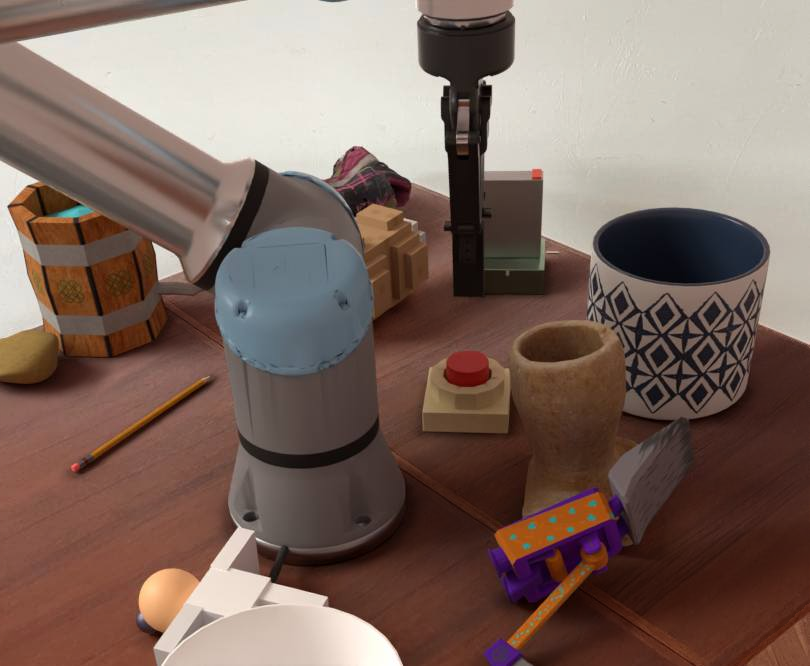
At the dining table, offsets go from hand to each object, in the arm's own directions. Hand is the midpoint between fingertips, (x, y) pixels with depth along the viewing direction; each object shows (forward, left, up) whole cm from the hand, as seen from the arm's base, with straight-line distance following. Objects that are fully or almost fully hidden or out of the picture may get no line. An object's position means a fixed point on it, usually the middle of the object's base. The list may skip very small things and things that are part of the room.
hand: (468, 292), depth 101 cm
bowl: (-46, +9, -12) cm, 48 cm away
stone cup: (-14, -10, -12) cm, 21 cm away
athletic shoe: (+38, +22, -8) cm, 45 cm away
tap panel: (+27, -3, -12) cm, 30 cm away
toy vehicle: (-22, -9, -6) cm, 24 cm away
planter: (+6, -19, -13) cm, 23 cm away
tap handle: (+27, -3, -9) cm, 29 cm away
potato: (+8, +45, -10) cm, 47 cm away
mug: (+15, +38, -13) cm, 43 cm away
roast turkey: (+18, +13, -12) cm, 26 cm away
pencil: (-4, +31, -13) cm, 34 cm away
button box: (0, 0, -12) cm, 12 cm away
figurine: (-34, +9, -10) cm, 37 cm away
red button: (0, 0, -9) cm, 9 cm away
